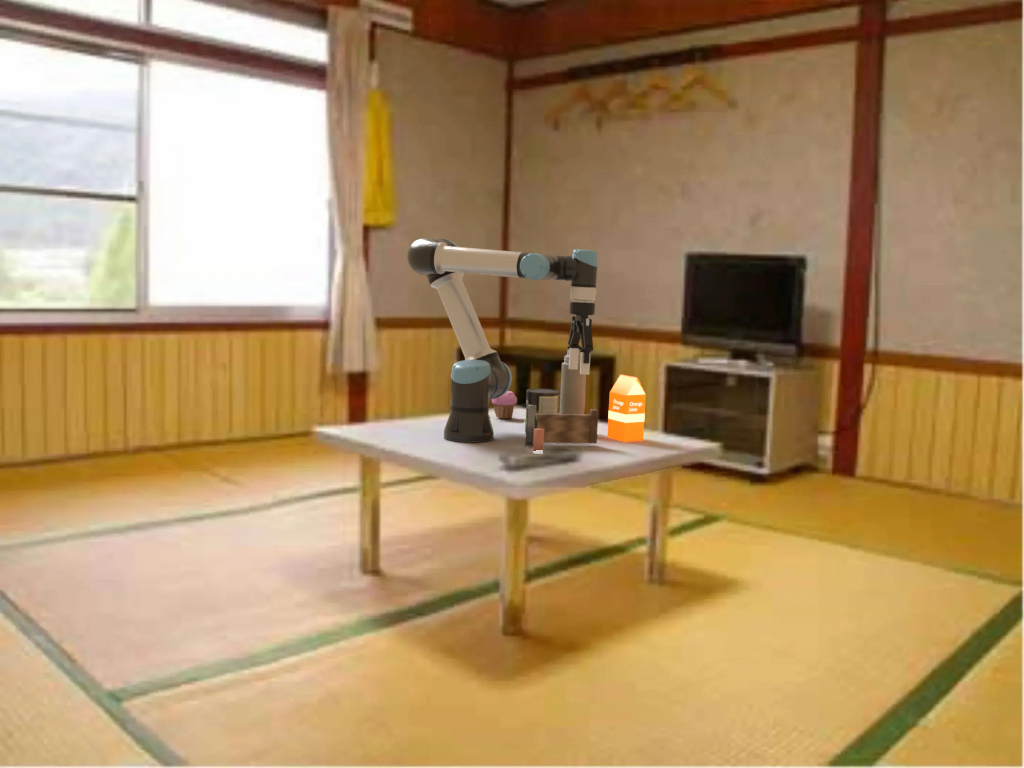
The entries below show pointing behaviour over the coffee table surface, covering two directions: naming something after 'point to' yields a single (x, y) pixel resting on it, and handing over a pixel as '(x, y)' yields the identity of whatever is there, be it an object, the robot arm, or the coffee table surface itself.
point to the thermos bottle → (572, 388)
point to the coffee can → (542, 401)
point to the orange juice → (626, 410)
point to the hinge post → (530, 424)
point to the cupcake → (504, 405)
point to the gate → (569, 427)
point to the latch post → (538, 439)
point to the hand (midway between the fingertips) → (578, 371)
